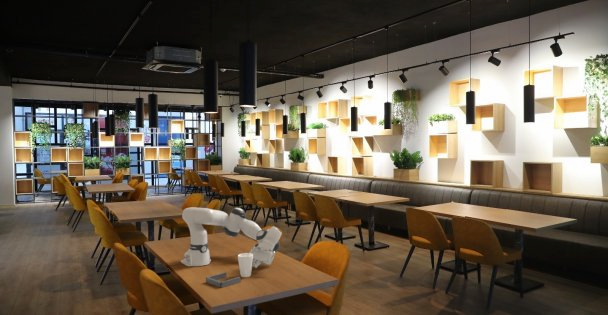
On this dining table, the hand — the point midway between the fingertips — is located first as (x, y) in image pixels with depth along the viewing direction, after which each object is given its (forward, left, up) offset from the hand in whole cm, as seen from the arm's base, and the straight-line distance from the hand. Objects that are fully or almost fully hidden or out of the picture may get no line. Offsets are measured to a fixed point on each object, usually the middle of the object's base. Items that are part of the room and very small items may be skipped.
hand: (254, 267), depth 264 cm
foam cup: (-1, -6, -4) cm, 8 cm away
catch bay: (-1, -23, -4) cm, 23 cm away
